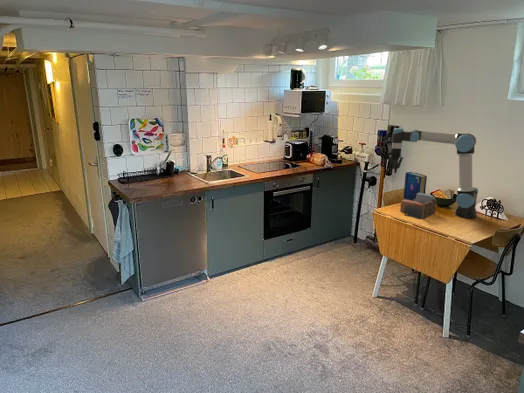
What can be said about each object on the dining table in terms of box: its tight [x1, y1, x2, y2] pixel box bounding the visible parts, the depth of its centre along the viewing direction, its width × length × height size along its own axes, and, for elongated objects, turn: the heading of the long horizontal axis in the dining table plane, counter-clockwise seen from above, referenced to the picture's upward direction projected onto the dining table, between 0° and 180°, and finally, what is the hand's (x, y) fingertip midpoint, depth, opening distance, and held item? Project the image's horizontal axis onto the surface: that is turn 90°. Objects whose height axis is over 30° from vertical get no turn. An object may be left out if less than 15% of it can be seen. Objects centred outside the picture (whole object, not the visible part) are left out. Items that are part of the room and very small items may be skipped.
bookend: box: [403, 205, 422, 220], centre depth 308 cm, size 7×16×7 cm, turn 43°
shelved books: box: [416, 193, 436, 203], centre depth 316 cm, size 6×12×15 cm, turn 43°
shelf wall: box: [420, 198, 437, 220], centre depth 307 cm, size 20×2×12 cm, turn 133°
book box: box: [399, 198, 424, 213], centre depth 315 cm, size 6×20×9 cm, turn 49°
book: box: [403, 171, 428, 201], centre depth 345 cm, size 22×7×25 cm, turn 17°
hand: (393, 176), depth 324 cm, fingers closed
